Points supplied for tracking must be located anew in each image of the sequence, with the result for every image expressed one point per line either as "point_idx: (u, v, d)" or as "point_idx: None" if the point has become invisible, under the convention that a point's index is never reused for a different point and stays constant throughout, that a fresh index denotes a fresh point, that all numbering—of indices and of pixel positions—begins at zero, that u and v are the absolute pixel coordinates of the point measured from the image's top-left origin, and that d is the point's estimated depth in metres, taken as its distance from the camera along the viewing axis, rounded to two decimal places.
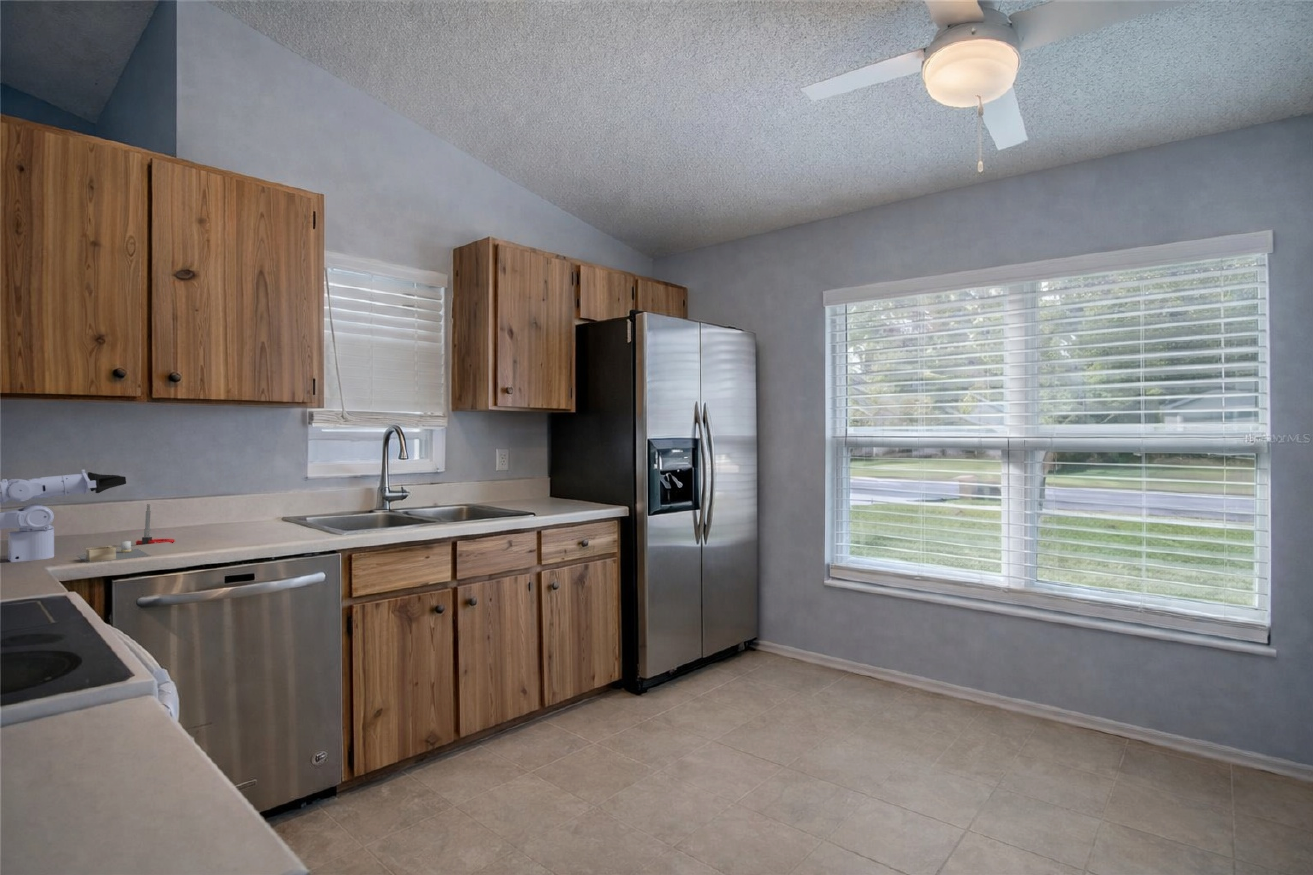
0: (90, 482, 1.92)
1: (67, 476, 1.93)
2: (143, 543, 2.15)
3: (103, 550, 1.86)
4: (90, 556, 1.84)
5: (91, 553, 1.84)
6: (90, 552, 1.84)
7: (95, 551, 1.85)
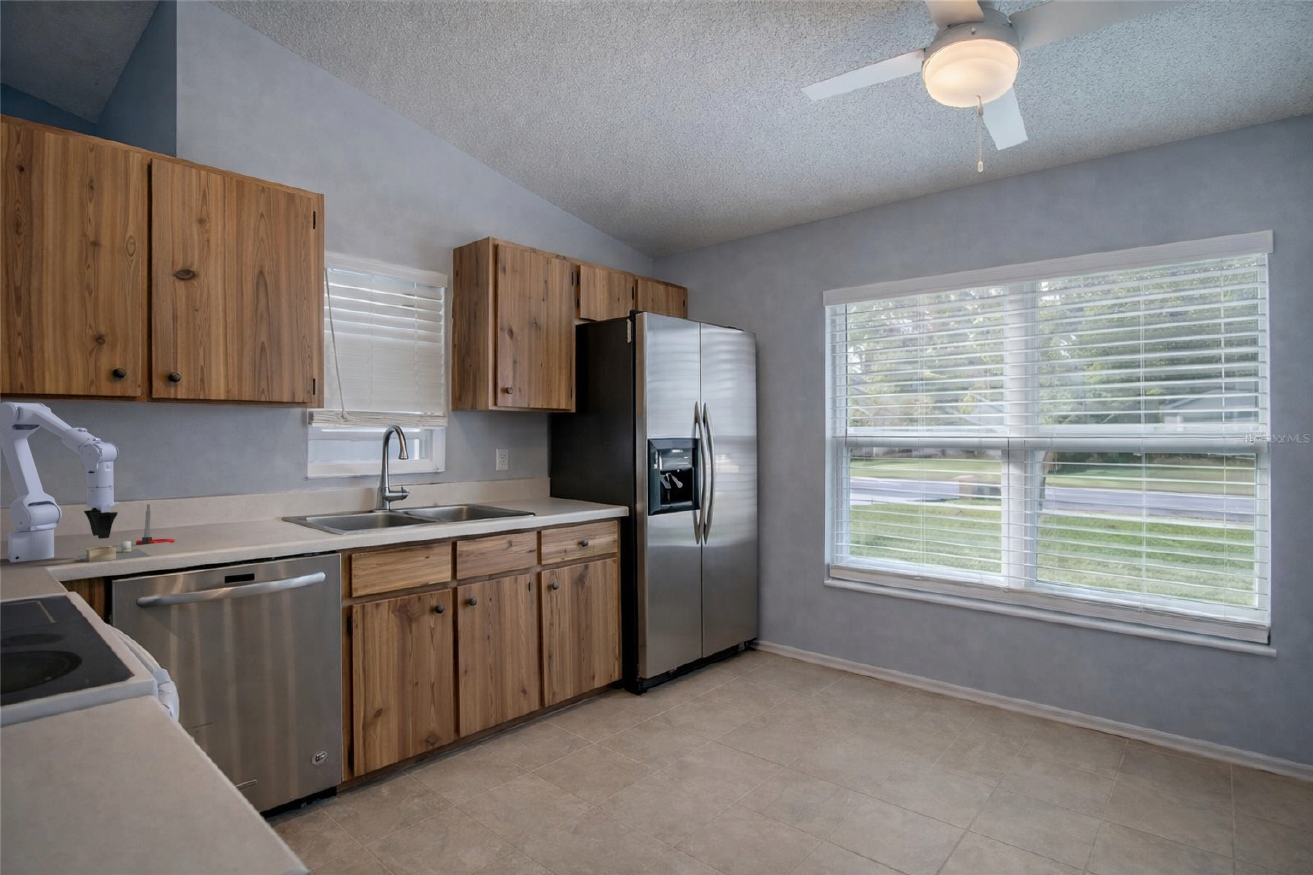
0: (109, 507, 1.83)
1: (112, 490, 1.88)
2: (143, 543, 2.15)
3: (103, 550, 1.86)
4: (90, 556, 1.84)
5: (91, 553, 1.84)
6: (90, 552, 1.84)
7: (95, 551, 1.85)
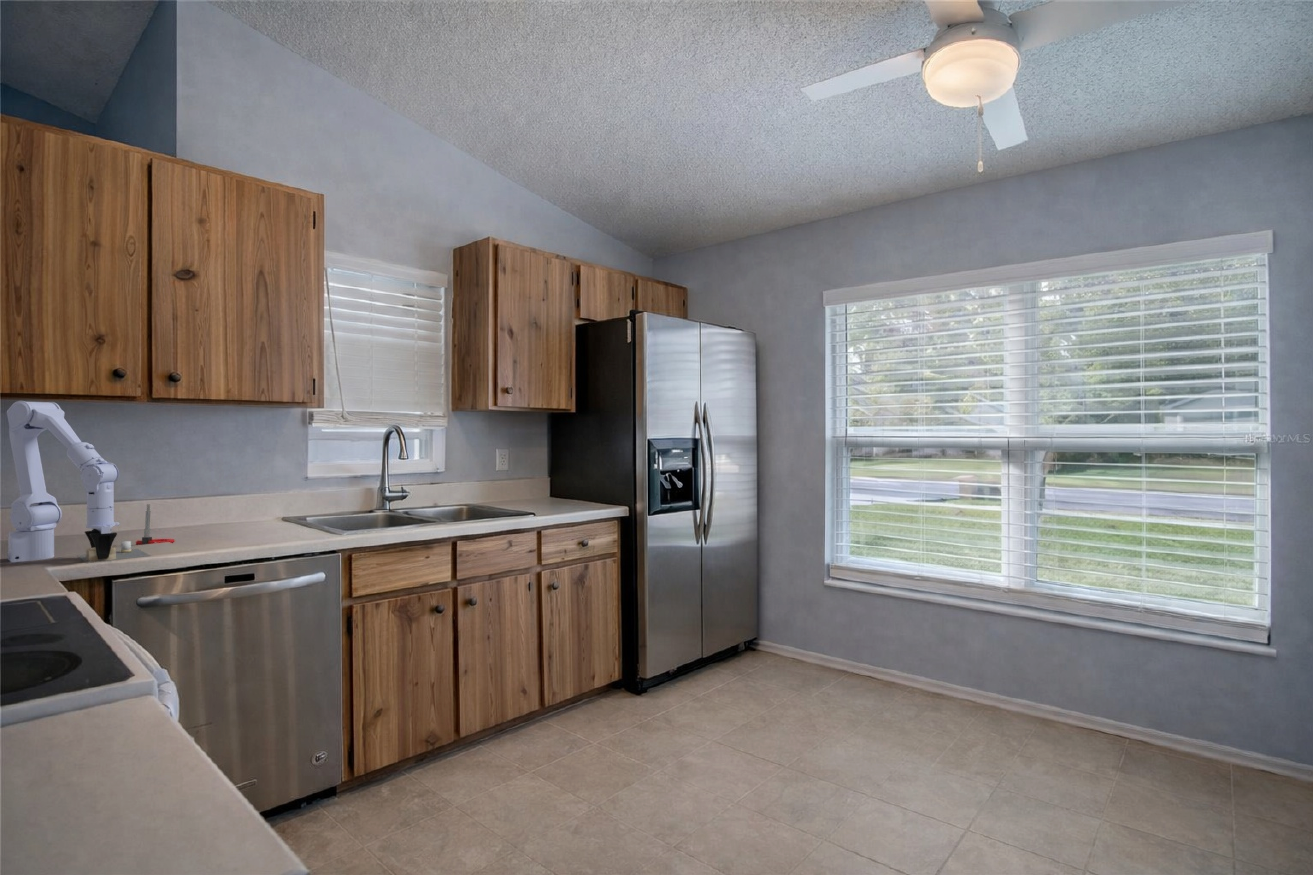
0: (109, 528, 1.83)
1: (113, 511, 1.89)
2: (143, 543, 2.15)
3: None
4: (90, 556, 1.84)
5: (91, 553, 1.84)
6: (90, 552, 1.84)
7: (95, 551, 1.85)
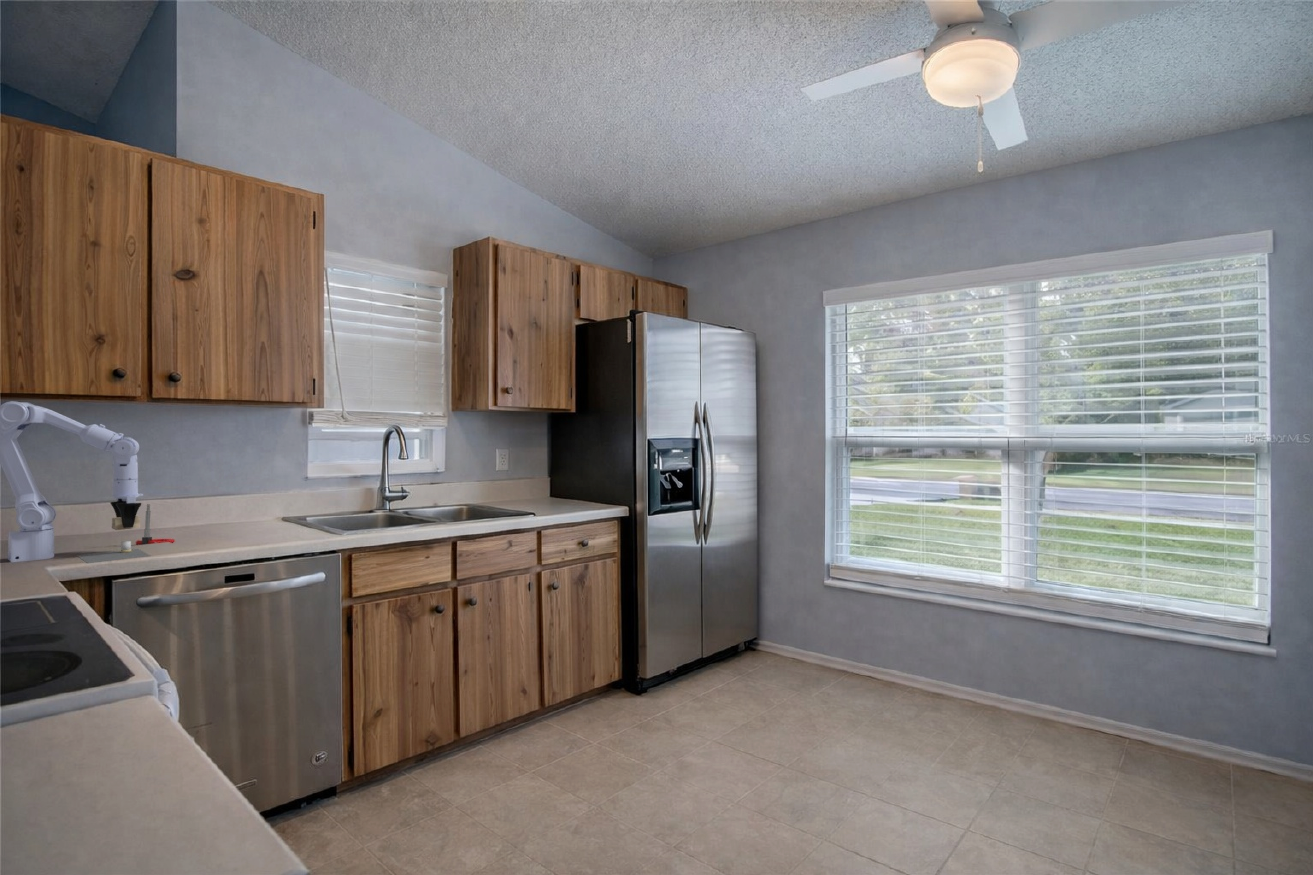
0: (134, 498, 1.94)
1: (137, 482, 1.99)
2: (143, 543, 2.15)
3: None
4: (116, 524, 1.94)
5: (117, 522, 1.95)
6: (116, 521, 1.94)
7: (121, 520, 1.95)
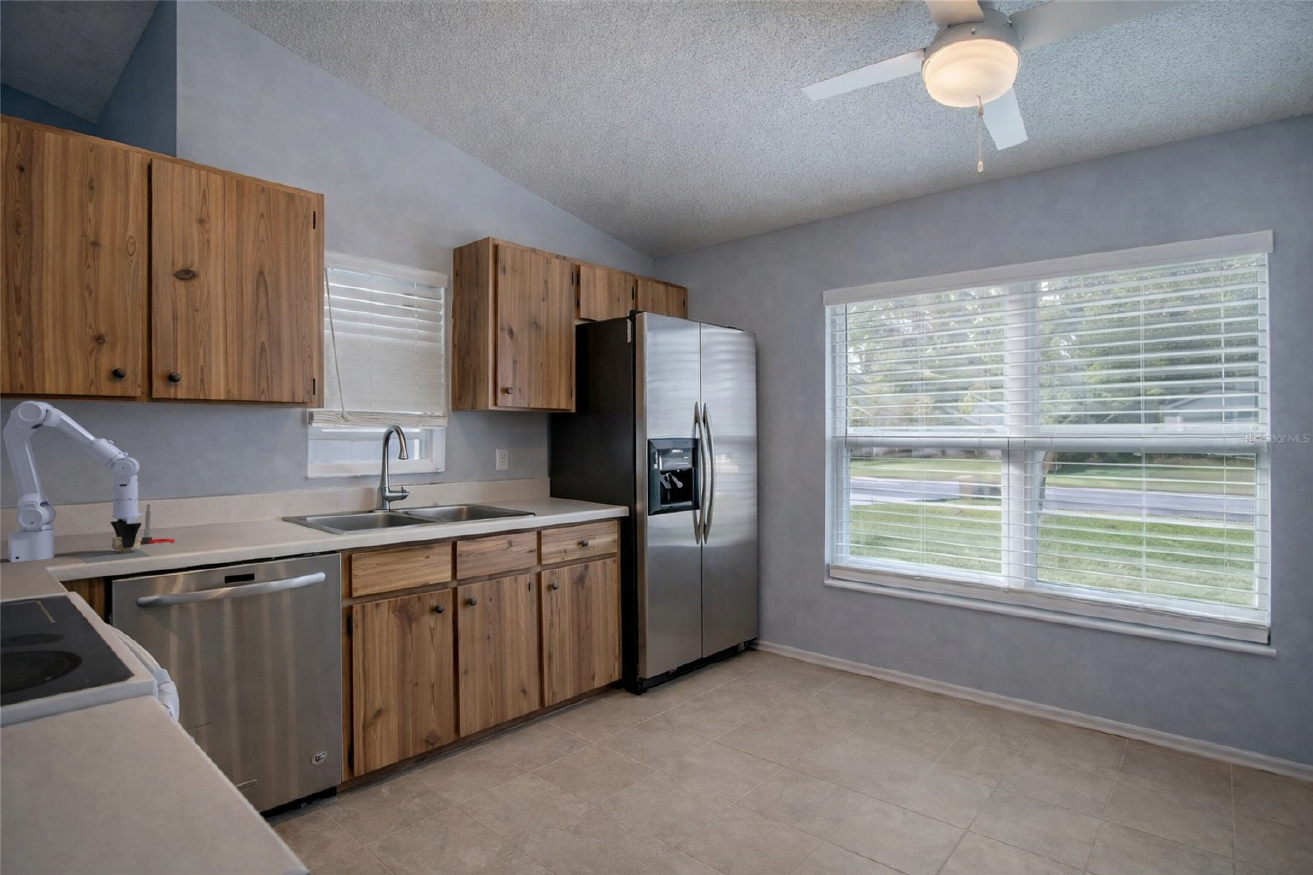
0: (134, 518, 1.94)
1: (137, 502, 1.99)
2: (143, 543, 2.15)
3: None
4: (116, 545, 1.95)
5: (117, 542, 1.95)
6: (116, 541, 1.95)
7: (121, 540, 1.95)
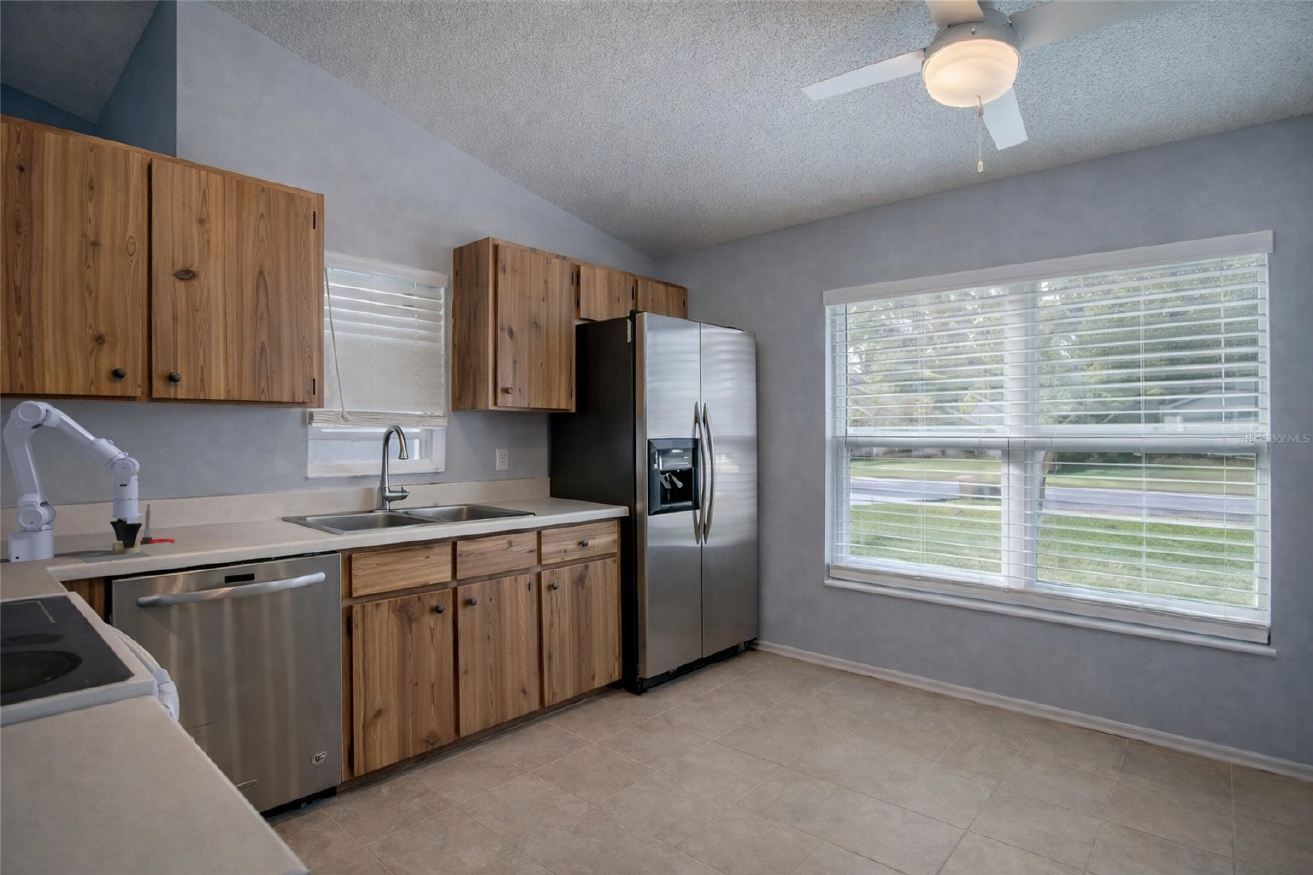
0: (134, 518, 1.94)
1: (137, 502, 1.99)
2: (143, 543, 2.15)
3: None
4: (116, 549, 1.95)
5: (117, 546, 1.95)
6: (116, 545, 1.95)
7: (121, 544, 1.95)
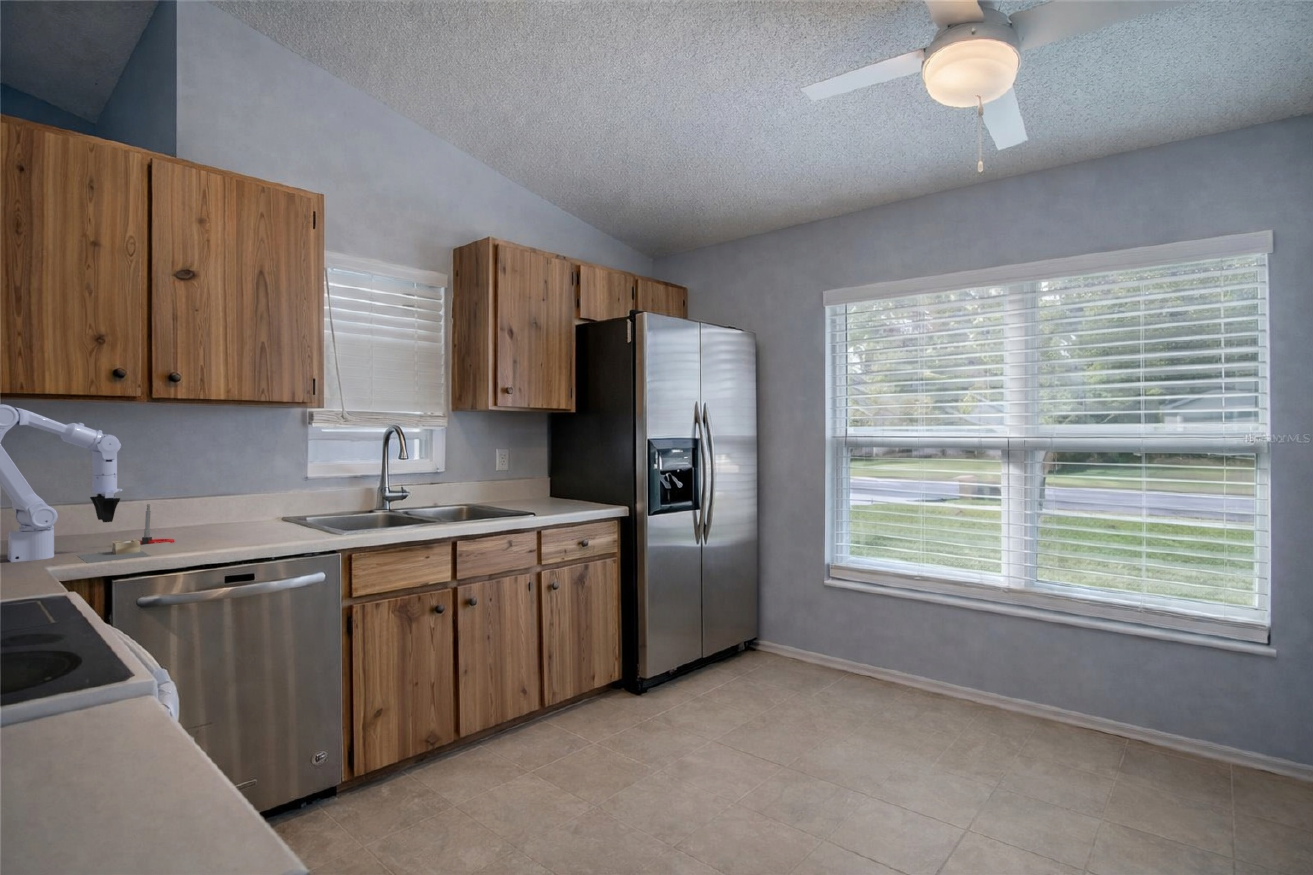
0: (112, 493, 1.98)
1: (116, 478, 2.04)
2: (143, 543, 2.15)
3: (128, 543, 1.96)
4: (116, 549, 1.95)
5: (117, 546, 1.95)
6: (116, 545, 1.95)
7: (121, 544, 1.95)
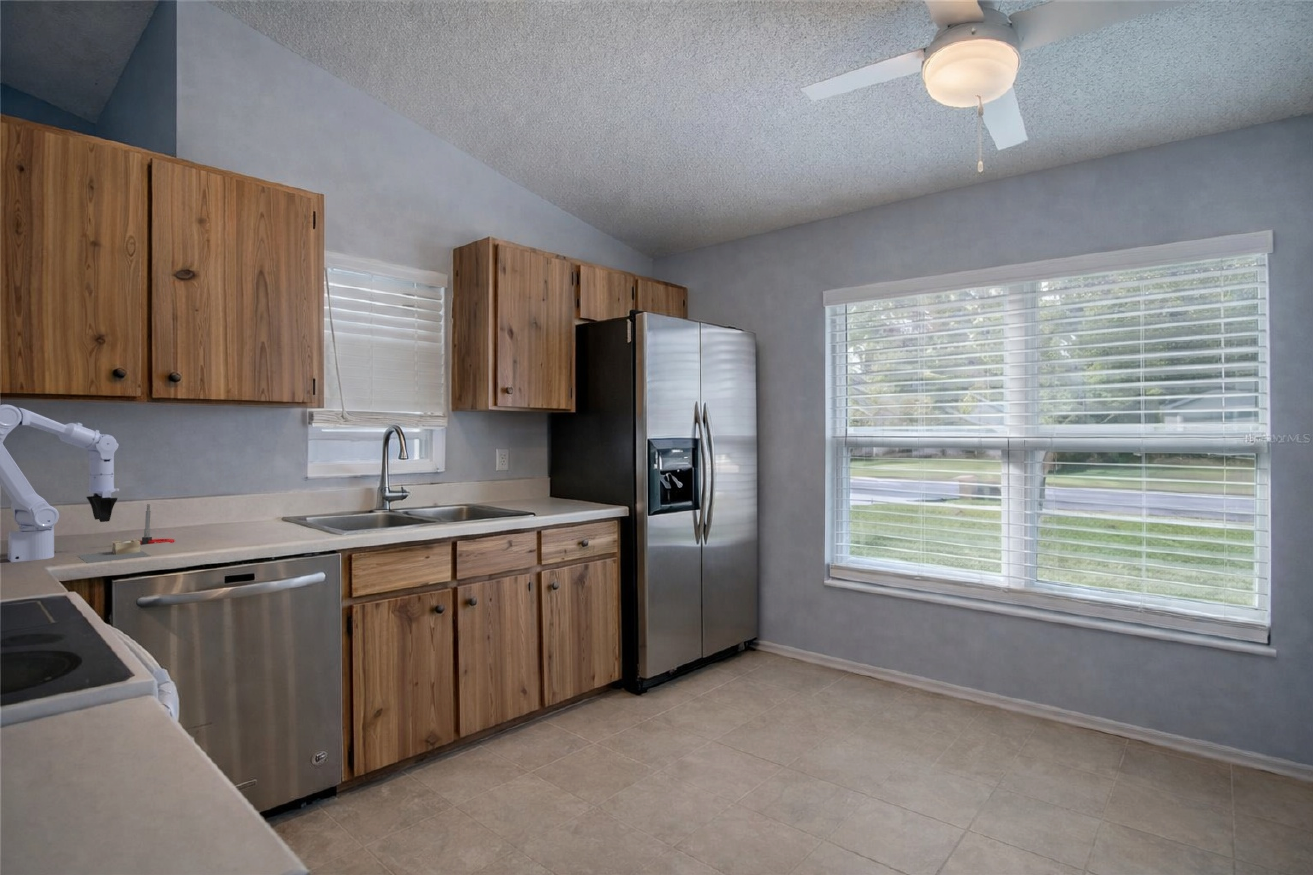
0: (109, 493, 1.99)
1: (113, 478, 2.04)
2: (143, 543, 2.15)
3: (128, 543, 1.96)
4: (116, 549, 1.95)
5: (117, 546, 1.95)
6: (116, 545, 1.95)
7: (121, 544, 1.95)
